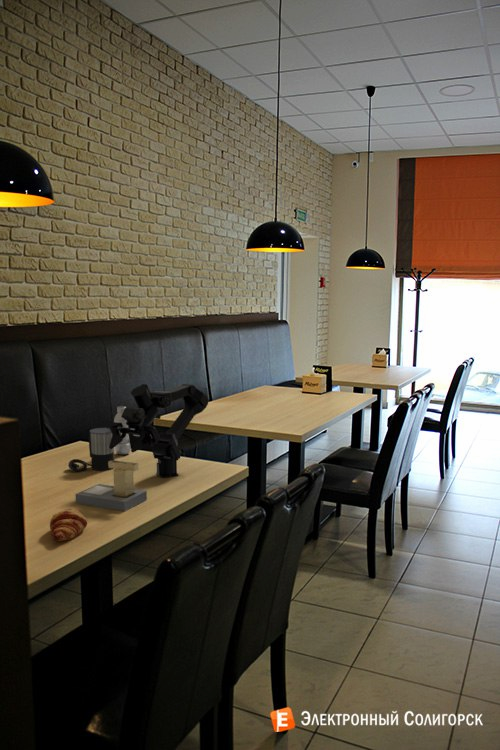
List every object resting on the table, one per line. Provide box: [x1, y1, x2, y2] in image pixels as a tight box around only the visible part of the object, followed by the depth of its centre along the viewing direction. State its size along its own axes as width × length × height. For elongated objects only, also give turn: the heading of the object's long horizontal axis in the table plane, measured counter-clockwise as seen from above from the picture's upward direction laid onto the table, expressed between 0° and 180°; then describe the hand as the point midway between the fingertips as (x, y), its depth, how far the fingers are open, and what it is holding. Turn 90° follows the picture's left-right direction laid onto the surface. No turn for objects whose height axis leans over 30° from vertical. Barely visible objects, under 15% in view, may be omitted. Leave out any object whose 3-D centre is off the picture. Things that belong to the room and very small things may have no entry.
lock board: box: [75, 483, 148, 512], centre depth 208 cm, size 19×12×3 cm, turn 65°
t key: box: [108, 459, 139, 498], centre depth 206 cm, size 4×10×14 cm, turn 65°
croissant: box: [49, 508, 88, 542], centre depth 182 cm, size 21×10×8 cm, turn 2°
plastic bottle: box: [113, 405, 132, 456], centre depth 268 cm, size 6×7×20 cm
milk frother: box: [67, 427, 115, 472], centre depth 246 cm, size 14×16×15 cm
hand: (120, 449), depth 214 cm, fingers open, 9 cm apart
